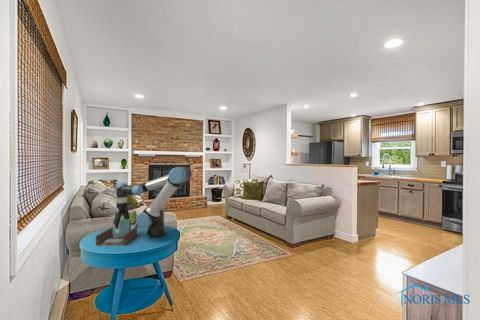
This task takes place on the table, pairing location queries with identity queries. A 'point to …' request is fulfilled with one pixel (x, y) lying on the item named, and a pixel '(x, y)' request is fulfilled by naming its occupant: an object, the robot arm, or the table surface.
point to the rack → (109, 235)
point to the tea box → (133, 218)
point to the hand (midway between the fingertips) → (121, 229)
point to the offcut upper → (114, 241)
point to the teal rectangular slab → (122, 227)
